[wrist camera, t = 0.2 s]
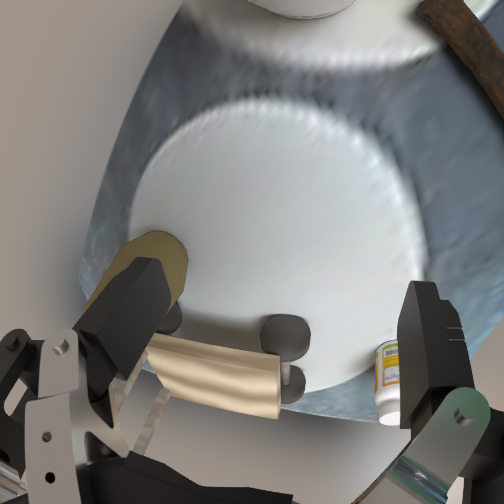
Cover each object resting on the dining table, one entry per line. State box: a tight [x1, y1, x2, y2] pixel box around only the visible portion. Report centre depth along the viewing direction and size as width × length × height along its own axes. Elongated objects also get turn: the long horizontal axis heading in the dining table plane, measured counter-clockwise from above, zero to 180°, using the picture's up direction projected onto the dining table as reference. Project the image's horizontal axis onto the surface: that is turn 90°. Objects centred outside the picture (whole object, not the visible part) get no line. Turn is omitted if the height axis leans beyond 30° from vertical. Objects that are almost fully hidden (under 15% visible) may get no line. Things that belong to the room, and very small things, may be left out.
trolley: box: [114, 302, 311, 456], centre depth 34 cm, size 13×22×22 cm, turn 95°
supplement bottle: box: [374, 340, 400, 425], centre depth 32 cm, size 5×5×10 cm
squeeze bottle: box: [83, 231, 188, 317], centre depth 28 cm, size 8×8×18 cm
